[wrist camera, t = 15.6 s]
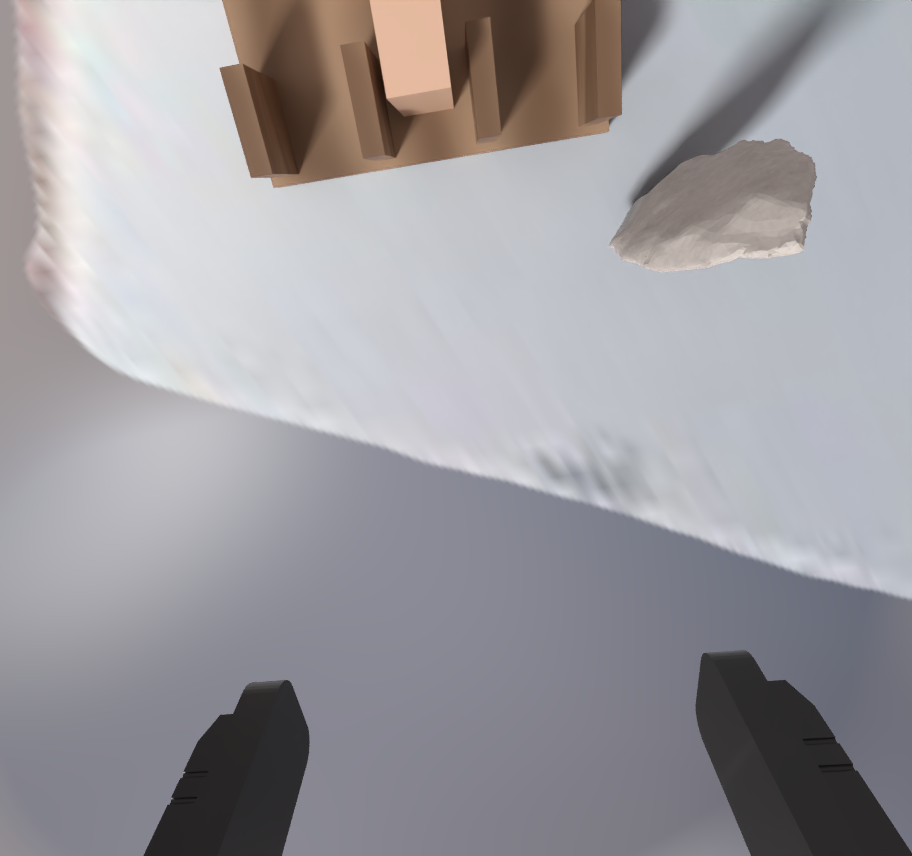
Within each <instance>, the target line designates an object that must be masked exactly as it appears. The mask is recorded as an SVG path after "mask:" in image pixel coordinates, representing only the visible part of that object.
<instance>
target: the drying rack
mask: <svg viewBox="0 0 912 856" xmlns="http://www.w3.org/2000/svg"><path fill="white" fill-rule="evenodd" d="M222 1H223V5H224V9H225V12H226V16H227V20H228V23H229V27H230V31H231V34H232V38H233V42H234V45H235V49H236V53H237V56H238V60H239V63H240V64H237V65H232V66H226V67H221V68H220V72H221V75H222V79H223V82H224V85H225V89H226V92H227V96H228V99H229V103H230V106H231V110H232V113H233V117H234V120H235V124H236V127H237V130H238V134H239V137H240V141H241V144H242V148H243V151H244V155H245V158H246V162H247V165H248V169H249V172H250V176H251V178H271V180H272V184H273V188H279V187H285V186H291V185H297V184H303V183H309V182H315V181H321V180H327V179H333V178H339V177H345V176H351V175H357V174H363V173H368V172H374V171H380V170H386V169H392V168H398V167H404V166H410V165H416V164H422V163H428V162H434V161H440V160H446V159H452V158H457V157H463V156H469V155H475V154H481V153H487V152H493V151H499V150H505V149H511V148H517V147H523V146H529V145H535V144H541V143H547V142H552V141H558V140H564V139H570V138H576V137H582V136H588V135H594V134H600V133H605V132H608V131H609V119H611V118H614V117H617V116H619V115H622V82H621V0H440V2H441V10H442V18H443V26H444V34H445V42H446V50H447V58H448V66H449V74H450V82H451V89H452V97H453V105H454V108H453V109H447V110H441V111H435V112H429V113H424V114H418V115H412V116H406V117H404V116H403V115H402V114H401V113H400V112H399V111H398V110H397V109H396V108H395V107H394V106H393V105H392V104H391V103H390V102H389V101H388V100H387V98H386V92H385V86H384V80H383V75H382V69H381V63H380V57H379V52H378V46H377V40H376V34H375V28H374V23H373V17H372V11H371V5H370V0H222Z"/></svg>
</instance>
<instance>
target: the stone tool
mask: <svg viewBox="0 0 912 856" xmlns="http://www.w3.org/2000/svg"><path fill="white" fill-rule="evenodd" d="M816 178H817V177H816V172H815V163H814V162H813V160H812V157H809V156H808V155H806V154H803V153H802V152H801V153H800V152H798V151H796V150H795V149H794V147H791V145H790V142H788V141H785V140H783V139H775V140H773V141H770V142H767V143H764V141H754V140H752V141H746V140H742V141H739V142H738V143H736V144H735V145H734V146H732V147H730V148H728V149H726V150H724V151H722V152H720V153H718V154H716V155H705V154H704V155H699V156H696V157H694V158H691V159H689V160H686V161H684V162H682V163H681V164H679V165H678V166H677V167H676V168H675V169H674V170H673V171H672V172H671V173H670V174H669V175H667V176H666V177H665V178H664V179H663V180H662V181H660V182H659V183H658V184H657V185H656V186H655V187H654V188H653V189H652V190H651V191H650V192H649V193H647V194H646V195H644V196H642V197H640V198H639V199H638V200H637V201H636V202H635V203H634V204H633V206H632V207H631V208H630V210H629V212H628V213H627V215H626V217H625V220H624V222H623V223H622V225H621V226H620V228H619V230H618V231H617V233H616V235H615V236H614V237H613V239H612V241H611V243H610V245H609V246H610V247H611V248H613V249H615V251H616V253H617V254H619V255H620V256H621V259H622V260H624V261H627V262H632V263H637V264H640V265H641V266H643V267H645V268H647V269H649V270H654V271H658V272H667V271H677V270H694V269H698V268H710V267H712V266H714V265H717V264H720V263H723V262H730V261H733V260H734V259H736V258H739V257H741V258H773V257H779V256H786V255H792V254H796V253H799V252H801V251H803V250H804V243H805V238H806V231H807V227H808V225H809V223H810V221H811V217H812V215H811V212H812V210H811V206H810V201H811V198H812V194H813V193H812V189H813V188H814V187H815V185H814V184H815V181H816Z"/></svg>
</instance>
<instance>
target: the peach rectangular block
mask: <svg viewBox="0 0 912 856" xmlns="http://www.w3.org/2000/svg"><path fill="white" fill-rule="evenodd" d="M370 5H371V11H372V17H373V23H374V28H375V34H376V40H377V46H378V52H379V57H380V63H381V69H382V75H383V80H384V86H385V92H386V98H387V100H388V101H389V102H390V103H391V104H392V105H393V106H394V107H395V108H396V109H397V110H398V111H399V112H400V113H401V114H402V115H403V116H404V117H406V116H412V115H418V114H424V113H429V112H435V111H441V110H447V109H453V108H454V105H453V97H452V89H451V82H450V74H449V66H448V58H447V50H446V42H445V34H444V26H443V18H442V10H441V2H440V0H370Z"/></svg>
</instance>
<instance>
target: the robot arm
mask: <svg viewBox="0 0 912 856" xmlns="http://www.w3.org/2000/svg"><path fill="white" fill-rule="evenodd" d="M696 716H697V722H698V726H699V730H700V734H701V737H702V740H703V742H704V745H705V747H706V750H707V752H708V754H709V757H710V759H711V762H712V764H713V766H714V769H715V771H716V773H717V776H718V778H719V780H720V783H721V785H722V788H723V790H724V792H725V795H726V797H727V800H728V802H729V804H730V807H731V809H732V812H733V814H734V816H735V819H736V821H737V823H738V826H739V828H740V830H741V833H742V835H743V838H744V840H745V842H746V845H747V847H748V850H749V852H750V854H751V856H912V853H911V851H910V850H909V848H908V847H907V845H906V844H905V842H904V841H903V839H902V838H901V836H900V835H899V833H898V832H897V830H896V828H895V827H894V825H893V824H892V822H891V821H890V819H889V818H888V816H887V815H886V814H885V812H884V810H883V809H882V807H881V806H880V804H879V803H878V801H877V800H876V798H875V797H874V795H873V794H872V792H871V791H870V789H869V788H868V786H867V785H866V783H865V782H864V780H863V778H862V777H861V775H860V774H859V772H858V771H855V769H854V768H853V763H852V762H851V760H850V759H849V757H848V756H847V754H846V753H845V751H844V750H843V748H842V747H841V745H840V744H838V743H837V742H836V740H835V736H834V735H833V733H832V732H831V730H830V729H829V727H828V726H827V724H826V722H825V721H824V719H823V718H822V716H821V715H820V713H819V712H818V710H817V709H816V707H815V706H814V705H813V704H812V703H811V702H810V701H808V700H807V699H806V698H805V697H804V696H803V695H802V694H800V693H799V692H798V691H797V690H796V689H795V688H794V687H792V686H791V685H790V684H789V683H788V682H787V681H786V680H779V681H767V680H766V678H765V676H764V675H763V673H762V671H761V670H760V668H759V666H758V664H757V663H756V661H755V660H754V658H753V657H752V656H751V654H750V653H749V652H747V651H745V650H740V651H725V652H712V653H711V652H710V653H703V655H702V657H701V664H700V672H699V681H698V689H697V698H696ZM308 755H309V730H308V726H307V724H306V721H305V718H304V716H303V713H302V710H301V708H300V705H299V702H298V700H297V697H296V694H295V692H294V689H293V686H292V684H291V682H290V681H288V680H281V681H267V682H252V683H250V684H248V685H247V686H246V688H245V689H244V691H243V693H242V695H241V697H240V700H239V702H238V704H237V706H236V709H235V711H234V713H233V714H227V715H220V716H219V717H218V718H217V720H216V721H215V722H214V723H213V724H212V726H211V727H210V728H209V729H208V730H207V731H206V733H205V734H204V735H203V736H202V737H201V738H200V740H199V741H198V742H197V744H196V747H195V749H194V751H193V753H192V755H191V757H190V759H189V761H188V763H187V766H186V768H185V770H184V772H183V778H181V779H180V780H179V782H178V784H177V786H176V788H175V791H174V793H173V795H172V797H171V803H170V805H167V807H166V810H165V812H164V814H163V816H162V818H161V820H160V822H159V824H158V826H157V828H156V830H155V833H154V835H153V837H152V839H151V841H150V843H149V846H148V847H147V849H146V852H145V854H144V856H282V853H283V849H284V846H285V842H286V838H287V835H288V831H289V827H290V824H291V820H292V816H293V813H294V809H295V805H296V802H297V798H298V794H299V790H300V787H301V783H302V780H303V776H304V772H305V768H306V765H307V761H308Z"/></svg>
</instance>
